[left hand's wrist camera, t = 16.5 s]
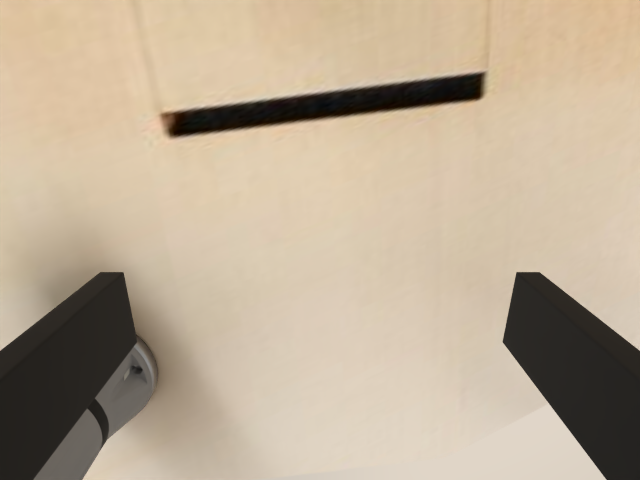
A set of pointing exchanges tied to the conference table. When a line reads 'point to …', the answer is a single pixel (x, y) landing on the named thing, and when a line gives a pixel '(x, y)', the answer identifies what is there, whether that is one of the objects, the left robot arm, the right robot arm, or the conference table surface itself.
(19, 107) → the conference table surface
